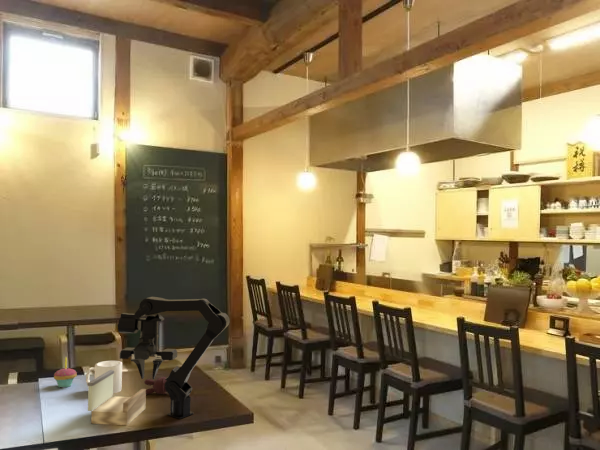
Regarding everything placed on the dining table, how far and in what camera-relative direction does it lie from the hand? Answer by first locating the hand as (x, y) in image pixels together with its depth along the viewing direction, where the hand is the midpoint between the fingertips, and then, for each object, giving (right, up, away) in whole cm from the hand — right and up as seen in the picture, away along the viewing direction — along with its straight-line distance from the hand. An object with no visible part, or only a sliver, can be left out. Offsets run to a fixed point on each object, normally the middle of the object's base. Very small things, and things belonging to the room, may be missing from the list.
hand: (148, 378), depth 175 cm
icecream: (-1, -13, +22) cm, 26 cm away
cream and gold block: (-9, -12, -3) cm, 15 cm away
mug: (-25, -13, +26) cm, 38 cm away
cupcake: (-43, -13, +31) cm, 54 cm away
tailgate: (-15, -8, -3) cm, 17 cm away
